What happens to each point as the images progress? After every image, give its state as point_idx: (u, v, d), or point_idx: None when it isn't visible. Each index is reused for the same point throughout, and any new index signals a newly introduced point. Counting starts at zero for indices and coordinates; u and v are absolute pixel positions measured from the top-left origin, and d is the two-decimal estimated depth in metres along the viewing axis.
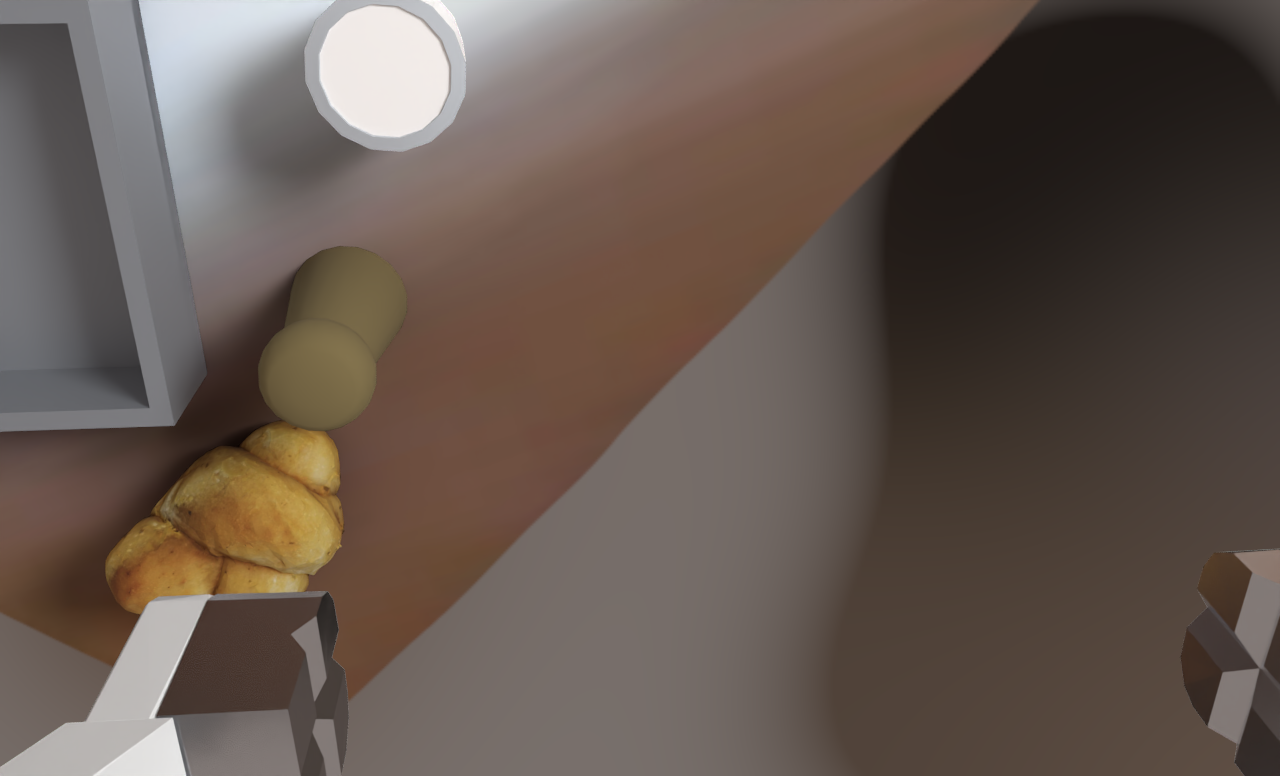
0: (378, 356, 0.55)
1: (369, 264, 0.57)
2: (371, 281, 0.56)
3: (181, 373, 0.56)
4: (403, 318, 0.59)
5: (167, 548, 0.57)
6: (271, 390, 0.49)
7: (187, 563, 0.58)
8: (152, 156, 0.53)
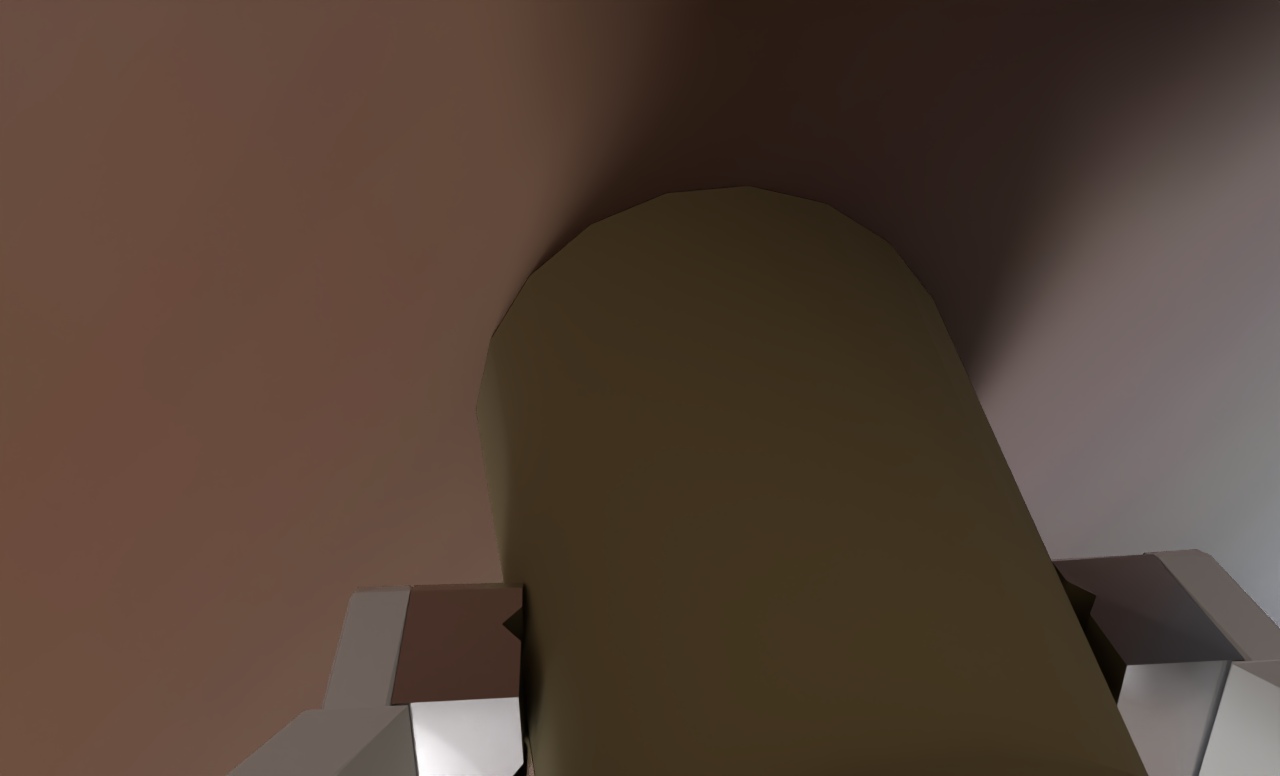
0: None
1: None
2: None
3: None
4: (487, 478, 0.14)
5: None
6: None
7: None
8: None
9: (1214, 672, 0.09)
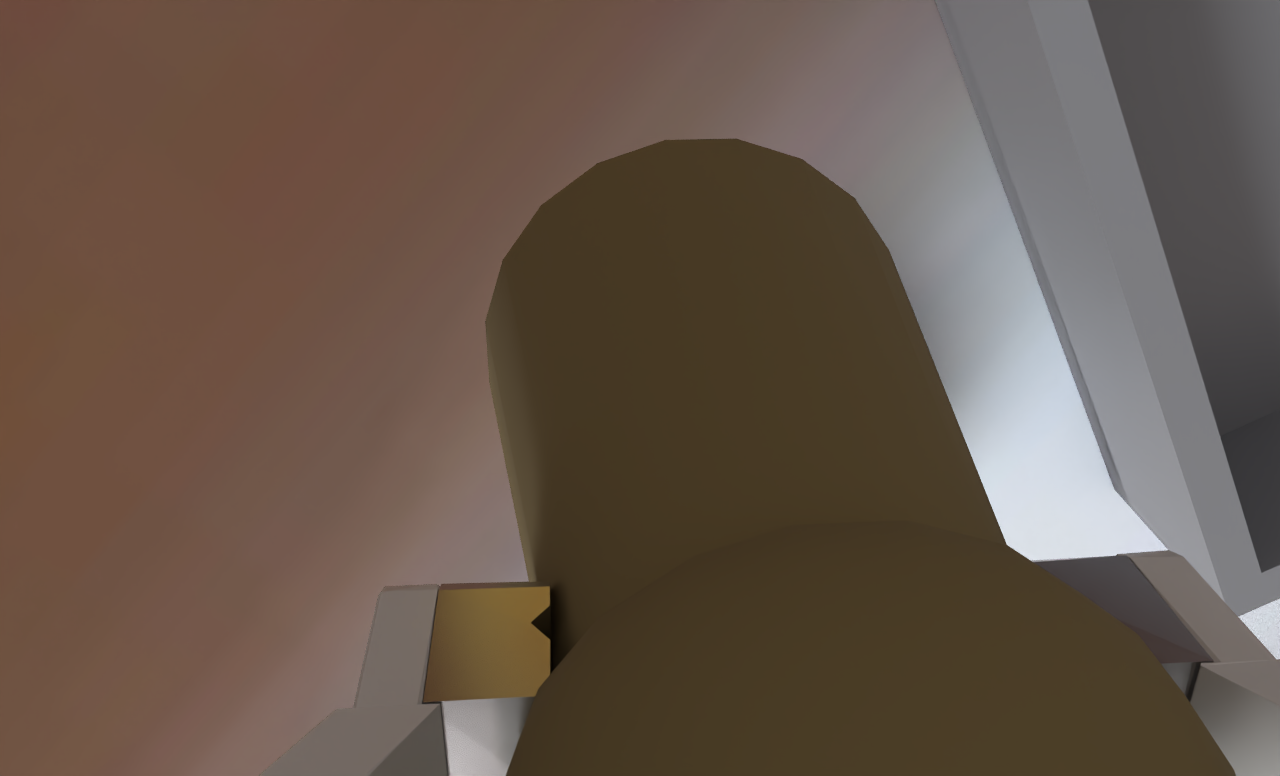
0: (532, 579, 0.11)
1: None
2: None
3: None
4: (491, 382, 0.16)
5: None
6: None
7: None
8: (1067, 300, 0.27)
9: (1184, 674, 0.09)
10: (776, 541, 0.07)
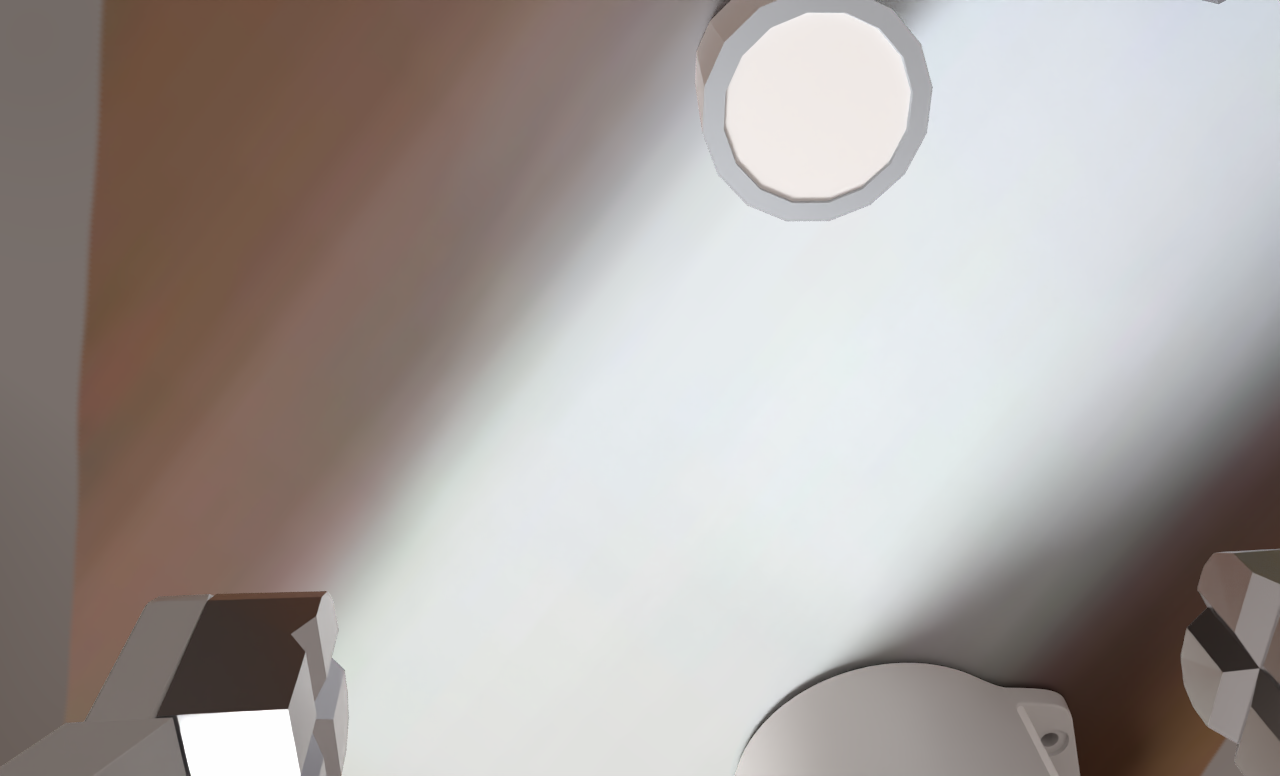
0: None
1: None
2: None
3: None
4: None
5: None
6: None
7: None
8: None
9: None
10: None
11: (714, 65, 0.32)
